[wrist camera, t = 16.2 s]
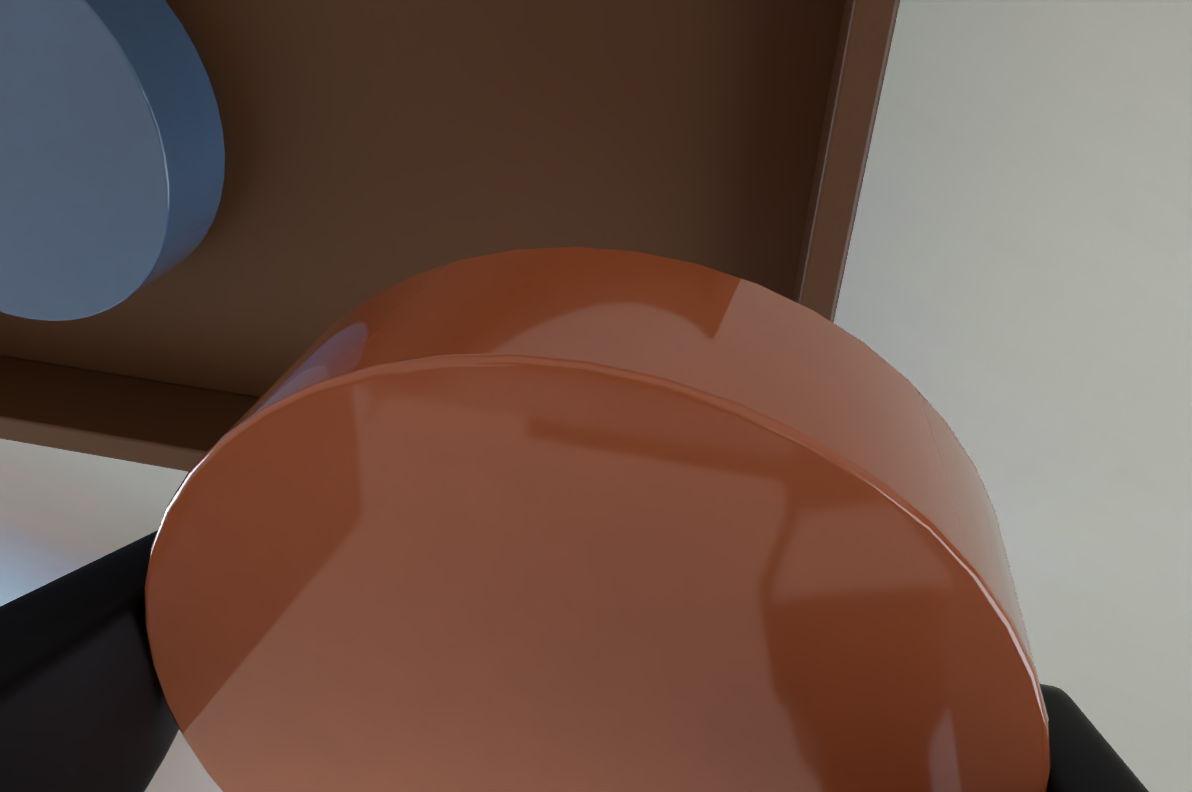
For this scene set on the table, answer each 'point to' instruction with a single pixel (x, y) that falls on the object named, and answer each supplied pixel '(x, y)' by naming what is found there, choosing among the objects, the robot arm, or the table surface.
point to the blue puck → (100, 153)
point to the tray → (462, 181)
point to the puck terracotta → (592, 554)
